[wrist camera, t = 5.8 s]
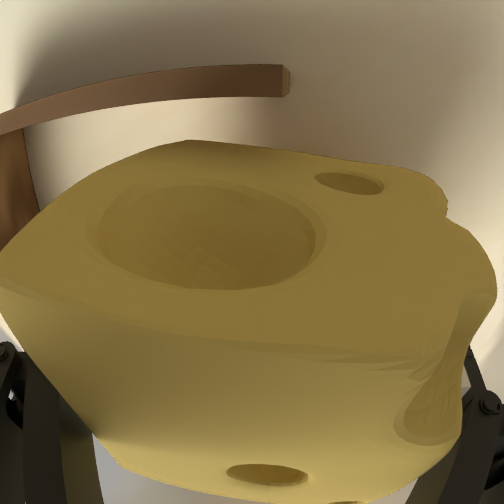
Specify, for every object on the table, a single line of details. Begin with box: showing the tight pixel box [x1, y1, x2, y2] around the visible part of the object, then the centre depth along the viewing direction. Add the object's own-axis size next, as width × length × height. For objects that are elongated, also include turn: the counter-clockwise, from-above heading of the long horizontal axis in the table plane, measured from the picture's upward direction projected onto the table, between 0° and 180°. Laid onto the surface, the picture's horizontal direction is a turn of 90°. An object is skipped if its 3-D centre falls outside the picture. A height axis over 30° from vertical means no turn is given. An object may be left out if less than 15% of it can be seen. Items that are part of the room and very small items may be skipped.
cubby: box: [0, 64, 290, 252], centre depth 15 cm, size 16×19×6 cm
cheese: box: [0, 140, 497, 504], centre depth 10 cm, size 10×11×10 cm
